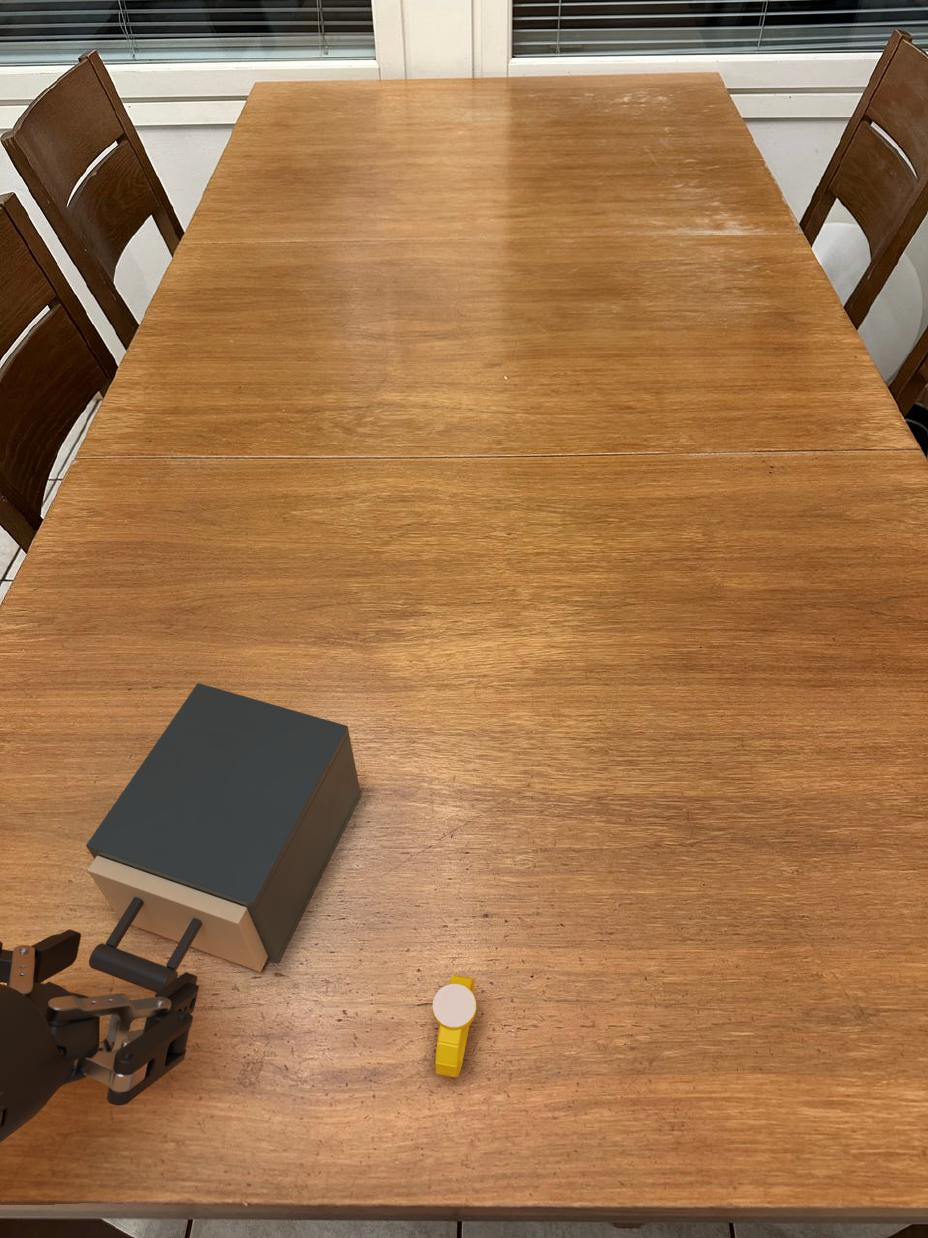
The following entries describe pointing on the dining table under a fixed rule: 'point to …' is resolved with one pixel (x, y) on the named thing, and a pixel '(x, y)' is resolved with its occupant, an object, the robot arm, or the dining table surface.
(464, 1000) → the watch
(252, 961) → the drawer
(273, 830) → the cabinet
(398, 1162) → the dining table surface
